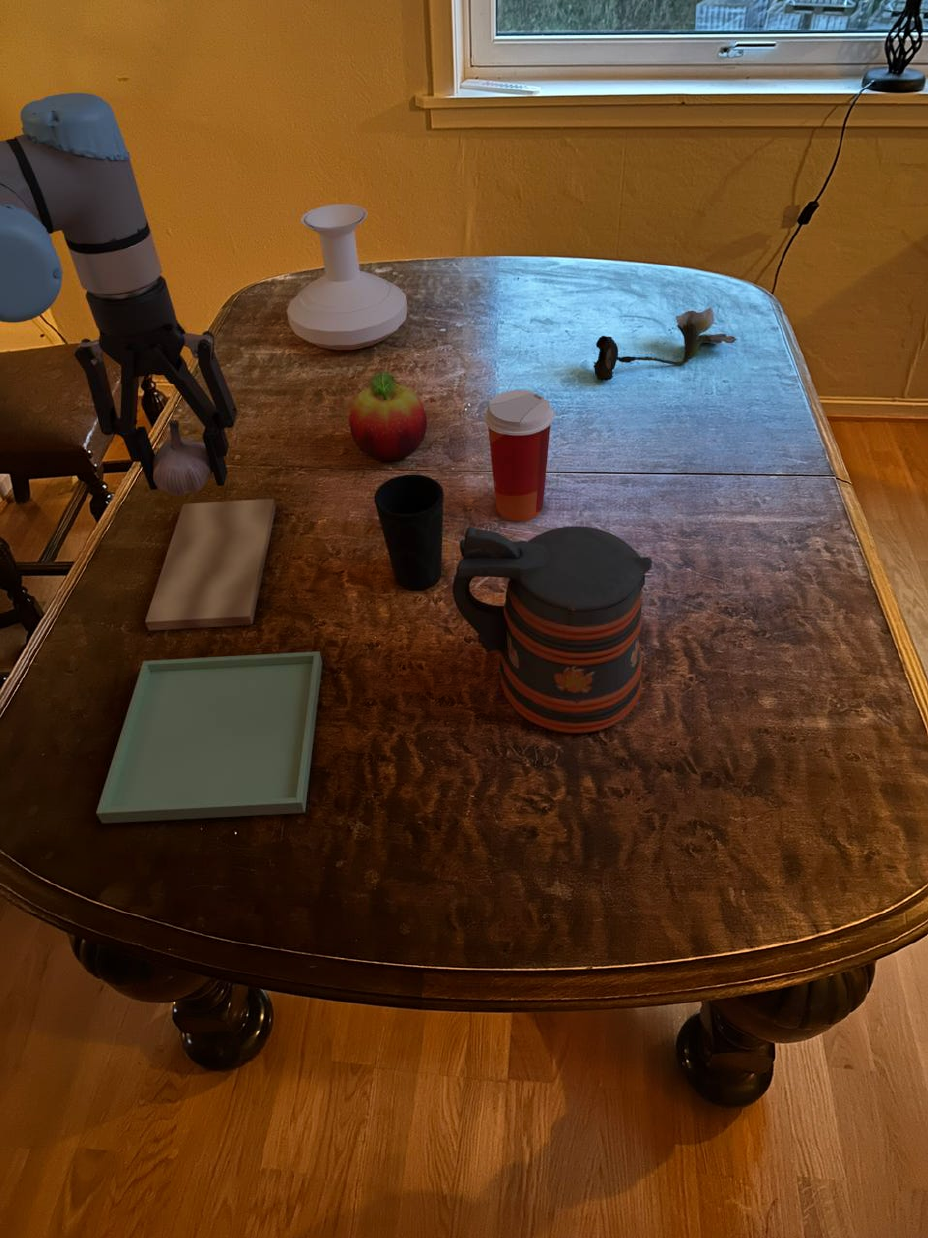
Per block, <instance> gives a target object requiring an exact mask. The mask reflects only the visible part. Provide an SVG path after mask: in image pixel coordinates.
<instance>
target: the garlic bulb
mask: <svg viewBox="0 0 928 1238" xmlns="http://www.w3.org/2000/svg"><path fill="white" fill-rule="evenodd" d="M168 426H169V431H170V439H168V440H166V441H164V442H163V443H162V444H161V446H160V448H159V449H158V450H157V451H156V452H155V455H154V458H153V463H152V466H153V471H154V472H153V479H154V482H155V484H156V486H157V487H158V488H157V489H159V490H161V491H163V492H166V493H167V494H169V495H171V496H177V497H183V496H186V495H188V494H195V493H199V492H200V491H201V490H202V489H203V488H204V487H205V486H206V485H205V484H206V483H207V481H208V480H209V479H210V478H211V476H212V474H213V470H212V467H211V464H210V461H209V457H208V454H207V451H206V447H205V444H204V442H201V441H194V440H190V439H189V440H188V439H185V438H181V434H180V422H179V420H178V419H170V420H169V421H168Z"/></svg>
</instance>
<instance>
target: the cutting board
mask: <svg viewBox="0 0 928 1238" xmlns="http://www.w3.org/2000/svg"><path fill="white" fill-rule="evenodd" d="M276 508H277V506H276V502H275V499H274V498H263V499H262V498H260V499H244V500H226V501H211V502H209V501H208V502H192V503H183V504H182V506H181V509H180V511H179V514H178V515H179V516H178V518H177V522H176V525H175V528H174V530H173V534H172V537H171V540H170V543H169V547H168V549H167V552H166V556H165V559H164V562H163V565H162V568H161V571H160V574H159V577H158V580H157V583H156V586H155V590H154V593H153V595H152V599H151V601H150V604H149V608H148V612H147V615H146V617H145V621H144V623H145V625H146V628H147V630H148V631H150V632H151V631H166V630H184V629H186V630H187V629H203V628H206V629H207V628H220V627H221V628H222V627H239V626H240V627H241V626H253V623H254V619H255V614H256V609H257V603H258V599H259V594H260V589H261V583H262V579H263V578H262V577H263V573H264V569H265V564H266V558H267V554H268V548H269V543H270V538H271V533H272V529H273V523H274V518H275V514H276V510H277V509H276Z"/></svg>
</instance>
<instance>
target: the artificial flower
mask: <svg viewBox="0 0 928 1238" xmlns="http://www.w3.org/2000/svg"><path fill="white" fill-rule="evenodd" d="M675 321H676V323H677V325H676V327H677V329H678V330H679V331H680V332H681V334H682V336H683V342H684V353H683V359H682V361H674V360H669V359H661V358H658V357H652V356H643V357H642V356H638V357H637V356H631V355H626V356H622V357H621V356H619V348H618V345H617V343H616V342H615V340H614V339H613V337H612V336H607V335H602V336H601V337H599V338H598V340H597V341H596V343H595V347H596V348H597V349H599V352H598V357H597V361H593V362H592V363H593V364H594V365H593V366H592V367H593V371H594V375H595V378H596V379H597V380H600V381H605V382H608V381H610V380H611V379H613V378H614V376H613V375H614V372H613V371H614V369H615V367H616V364H617V362H618V361H619V362H620V363H625V364H626V363H627V364H629V363H632V362H634V361H644V362H645V361H648V362H651V361H654V362H659V363H662V364H668V365H674V366H684V365H685V364H686V363H688V362H689V361H690V360H692V359H693V358H695V357H696V356H697V355H698V353H699V348H700V346H701V345H702V344H705V343H712V344H717V345H720V344H723V342H724V343H726V344H734V343H735V341H737V340H738V339H737V338H736V337H735V336H733V335H728V336H727V335H726V333H717V334H711V333H707V334H705V333H706V332H707V331H708V330H709V329H710V328H711V327H712V326H713V325H714V321H715V314H714V311H713V308H712V306H710V307H709V308H707V309H705V310H703V311H700V312H698V311H695V310H687V311H686V312H683V313H682V314H680V315H676V316H675ZM702 333H703V334H702Z"/></svg>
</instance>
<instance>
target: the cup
mask: <svg viewBox="0 0 928 1238" xmlns="http://www.w3.org/2000/svg"><path fill="white" fill-rule="evenodd" d="M444 494H445V493H444V488H443V487H442V486H441V484H440V483H439V482H438V481H437V480H436V479H434V478H432V477H429V476H427V475H423V474H415V473H414V474H402V475H398V476H395V477H391V478H390V479H388V480H386V481H384V482H383V483H382V484H381V485H379V486H378V488H377V489H376V491H375V493H374V496H373V499H374V504H375V509H376V512H377V516H378V519H379V524H380V527H381V531H382V534H383V538H384V542H385V546H386V550H387V553H388V556H389V561H390V564H391V568H392V573H393V576H394V580H395V581H396V584H397V585H398V586H400V587H401V588H403V589H404V590H408V591H411V592H419V591H420V592H421V591H425V590H428V589H431V588H433V587H434V586H436V585H437V584H438V583H439V582H440V580H441V578H442V566H443V565H442V563H443V532H444V531H443V529H444V526H443V525H444Z"/></svg>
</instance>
